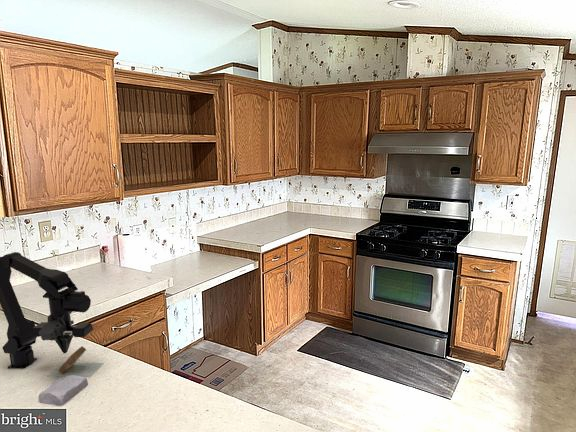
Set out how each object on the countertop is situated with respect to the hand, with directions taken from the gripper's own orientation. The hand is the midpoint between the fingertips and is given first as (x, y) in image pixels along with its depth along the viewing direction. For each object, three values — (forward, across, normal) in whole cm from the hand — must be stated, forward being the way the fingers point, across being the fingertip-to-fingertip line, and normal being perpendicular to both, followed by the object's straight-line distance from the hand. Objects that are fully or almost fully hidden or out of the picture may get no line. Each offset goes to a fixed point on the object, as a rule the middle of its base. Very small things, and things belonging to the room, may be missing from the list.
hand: (65, 352), depth 139 cm
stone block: (+7, +7, -13) cm, 16 cm away
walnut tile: (+5, 0, 0) cm, 5 cm away
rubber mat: (+6, +3, 0) cm, 7 cm away
